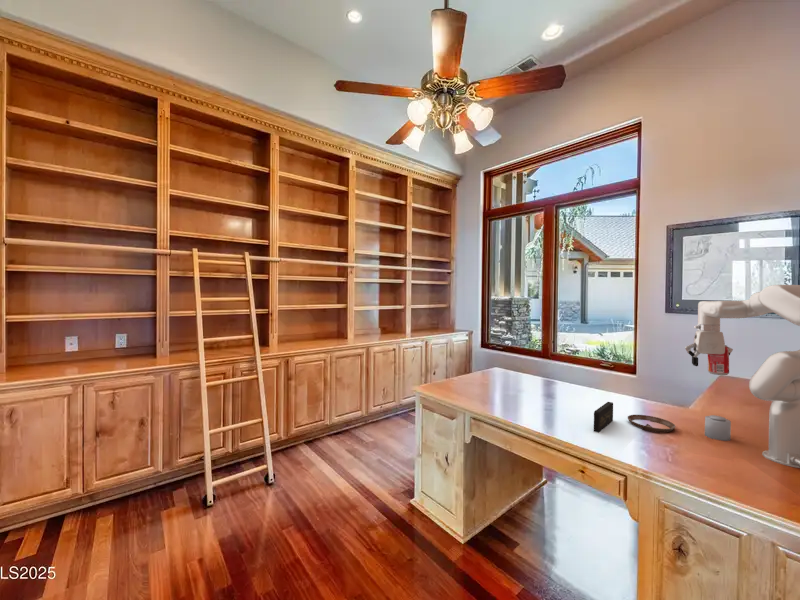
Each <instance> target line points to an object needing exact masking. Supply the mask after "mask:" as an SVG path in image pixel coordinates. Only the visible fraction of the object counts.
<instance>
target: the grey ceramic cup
mask: <svg viewBox="0 0 800 600" xmlns="http://www.w3.org/2000/svg"><path fill="white" fill-rule="evenodd" d="M731 426H732V421H731V420H730V419H728V418H726V417H724V416H720V415H712V414H711V415H705V416H704V436H705V437H706V436H707V438H709V439H712V440H716V441H717V440H718V441H724V442H728V441H729V442H730V441H731V434H732V433H731V431H732V427H731Z"/></svg>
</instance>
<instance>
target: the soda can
mask: <svg viewBox="0 0 800 600" xmlns="http://www.w3.org/2000/svg"><path fill="white" fill-rule="evenodd" d="M728 347H729V346H728V344H727V345H726V344H725V353H724V354H707V372H708V373H709V374H711V375H716V376H728V375H729V374H730V355H729V349H728Z"/></svg>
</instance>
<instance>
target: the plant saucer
mask: <svg viewBox="0 0 800 600" xmlns="http://www.w3.org/2000/svg"><path fill="white" fill-rule="evenodd" d="M627 419H628V421H629V423H630V424H631V425H633V426H635V427H637V428H640V429H642V430H644V431H647V432H652V433H656V434H660V433H670V432H672V431H674V429H676V424H674V423H673V422H671V421H669V420H667V419H664V418H660V417H656V416H652V415H647V414H629V415H627ZM637 420H640V421H641V420H642V421H649V422H651V423H657V424H660V425H663V426H665V427H667V428H659V427H653V426H652V425H650V424H649V423H646V424H645V425H643V424H641V423H637V422H634V421H637Z"/></svg>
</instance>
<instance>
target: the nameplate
mask: <svg viewBox="0 0 800 600" xmlns="http://www.w3.org/2000/svg"><path fill="white" fill-rule="evenodd" d="M613 421H614V403H613V402H611V401H607V402H605V403H604V404H602V405H601V406H600V407H598V408H597V409H595V410H594V412H593V432H595V433H600V432H601V431H602V430H603V429H605V428H606V427H608V426H609V425H610V424H612V423H613Z"/></svg>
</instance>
